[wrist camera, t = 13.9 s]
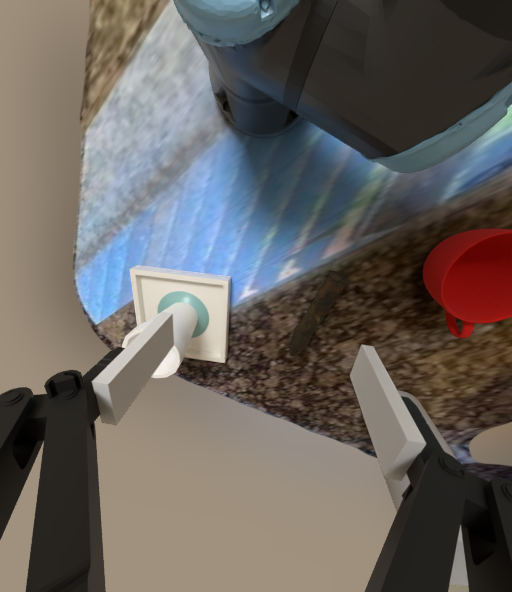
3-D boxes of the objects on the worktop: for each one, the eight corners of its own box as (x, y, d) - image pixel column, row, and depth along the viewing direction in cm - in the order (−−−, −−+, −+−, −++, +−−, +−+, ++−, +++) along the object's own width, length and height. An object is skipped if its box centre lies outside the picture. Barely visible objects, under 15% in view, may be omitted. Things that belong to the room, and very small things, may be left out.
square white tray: (137, 265, 47) (129, 268, 44) (231, 276, 46) (228, 280, 43) (146, 344, 54) (140, 350, 52) (227, 355, 53) (224, 363, 51)
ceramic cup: (395, 314, 45) (423, 345, 36) (415, 222, 38) (456, 231, 29) (469, 315, 44) (518, 348, 34) (503, 220, 37) (576, 229, 28)
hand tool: (329, 266, 43) (334, 274, 39) (347, 276, 43) (354, 285, 39) (278, 341, 51) (278, 354, 46) (294, 349, 51) (295, 363, 47)
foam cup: (194, 342, 51) (167, 386, 39) (155, 322, 50) (116, 361, 38) (212, 309, 48) (188, 347, 36) (170, 286, 47) (132, 318, 35)
